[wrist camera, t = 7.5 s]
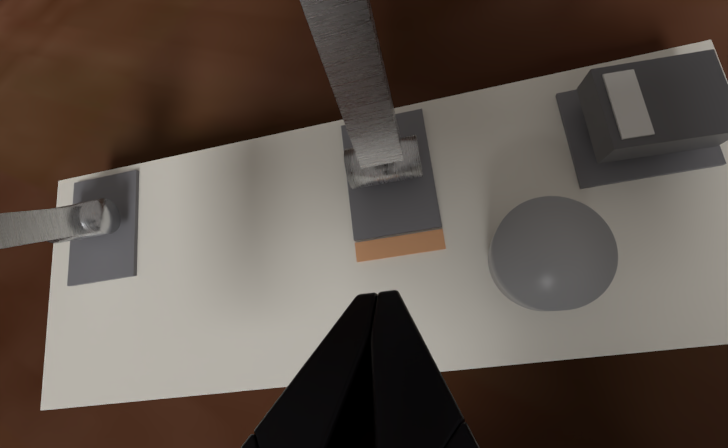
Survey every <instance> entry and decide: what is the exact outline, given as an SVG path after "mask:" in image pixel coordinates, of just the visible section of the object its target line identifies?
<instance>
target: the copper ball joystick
mask: <svg viewBox="0 0 728 448" xmlns="http://www.w3.org/2000/svg"><path fill="white" fill-rule="evenodd" d="M300 2H301V5H302V8H303V11H304V13H305V16H306V19H307V22H308V24H309V27H310V30H311V33H312V35H313V38H314V41H315V44H316V46H317V49H318V52H319V55H320V57H321V60H322V63H323V65H324V68H325V71H326V74H327V76H328V79H329V82H330V85H331V87H332V90H333V93H334V96H335V98H336V101H337V104H338V107H339V109H340V112H341V115H342V117H343V120H344V123H345V126H346V128H347V131H348V134H349V137H350V139H351V142H352V145H353V148H348V149H345V150H344V165H345V171H346V175H347V179H348V182H349V184H350V187H351V188H352V189H356V188H361V187H367V186H372V185H378V184H383V183H389V182H394V181H400V180H405V179H410V178H416V177H421V176H423V171H422V165H421V159H420V153H419V147H418V141H417V136H416V135H412V136H407V137H402V138H401V137H400V133H399V128H398V124H397V119H396V115H395V111H394V106H393V102H392V97H391V93H390V88H389V84H388V80H387V75H386V71H385V66H384V62H383V57H382V53H381V49H380V44H379V40H378V35H377V31H376V26H375V22H374V18H373V13H372V9H371V4H370V0H300Z"/></svg>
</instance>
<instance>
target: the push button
mask: <svg viewBox="0 0 728 448" xmlns="http://www.w3.org/2000/svg"><path fill="white" fill-rule="evenodd" d="M488 266H489V270H490V274H491V276H492V279H493V281H494V283H495V284H496V286H497V287H498V289H499V290H500V291H501V292H502V293H503V294H504V295H505V296H506V297H507V298H508V299H510V300H511V301H512V302H514V303H516V304H517V305H520V306H522V307H524V308H527V309H530V310H535V311H562V310H571V309H576V308H580V307H583V306H585V305H587V304H589V303H591V302H593V301H594V300H596V299H597V298H599V297H600V296H601V295H602V294H603V293H604V292H605V291H606V289H607V288H608V287H609V286H610V284H611V282H612V281H613V278H614V276H615V273H616V270H617V266H618V249H617V244H616V241H615V238H614V235H613V233H612V231H611V229H610V228H609V226H608V225H607V223H606V222H605V221H604V219H603V218H602V217H601V216H600V215H599V214H598V213H596V212H595V211H594V210H593V209H591V208H590V207H588V206H587V205H585V204H583V203H581V202H579V201H576V200H573V199H570V198H566V197H560V196H544V197H538V198H533V199H530V200H528V201H525V202H523V203H521V204H519V205H518V206H516V207H515V208H513V209H512V210H511V211H510V212H509V213H508V214H507V215H506V216H505V217H504V219H503V220H502V222H501V223H500V225H499V227H498V228H497V230H496V232H495V234H494V236H493V238H492V240H491V243H490V246H489V251H488Z"/></svg>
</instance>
